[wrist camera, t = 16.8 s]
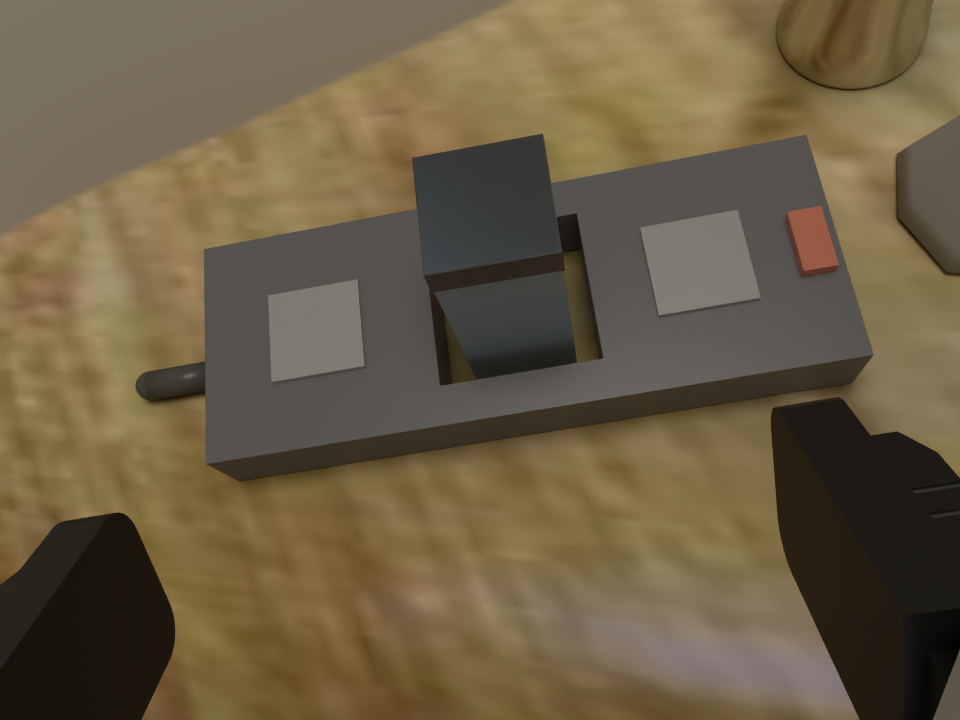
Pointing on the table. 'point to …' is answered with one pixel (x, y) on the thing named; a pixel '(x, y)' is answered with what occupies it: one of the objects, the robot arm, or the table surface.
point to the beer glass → (852, 39)
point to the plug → (496, 254)
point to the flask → (933, 193)
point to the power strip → (544, 392)
